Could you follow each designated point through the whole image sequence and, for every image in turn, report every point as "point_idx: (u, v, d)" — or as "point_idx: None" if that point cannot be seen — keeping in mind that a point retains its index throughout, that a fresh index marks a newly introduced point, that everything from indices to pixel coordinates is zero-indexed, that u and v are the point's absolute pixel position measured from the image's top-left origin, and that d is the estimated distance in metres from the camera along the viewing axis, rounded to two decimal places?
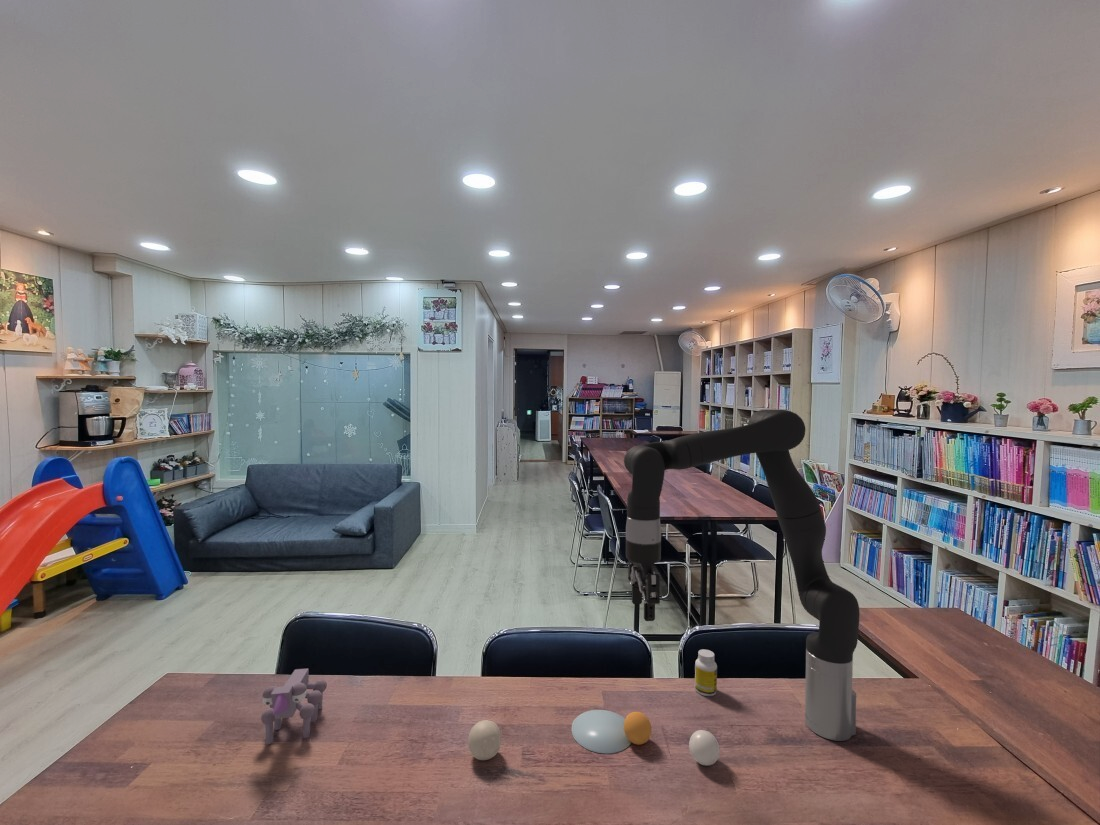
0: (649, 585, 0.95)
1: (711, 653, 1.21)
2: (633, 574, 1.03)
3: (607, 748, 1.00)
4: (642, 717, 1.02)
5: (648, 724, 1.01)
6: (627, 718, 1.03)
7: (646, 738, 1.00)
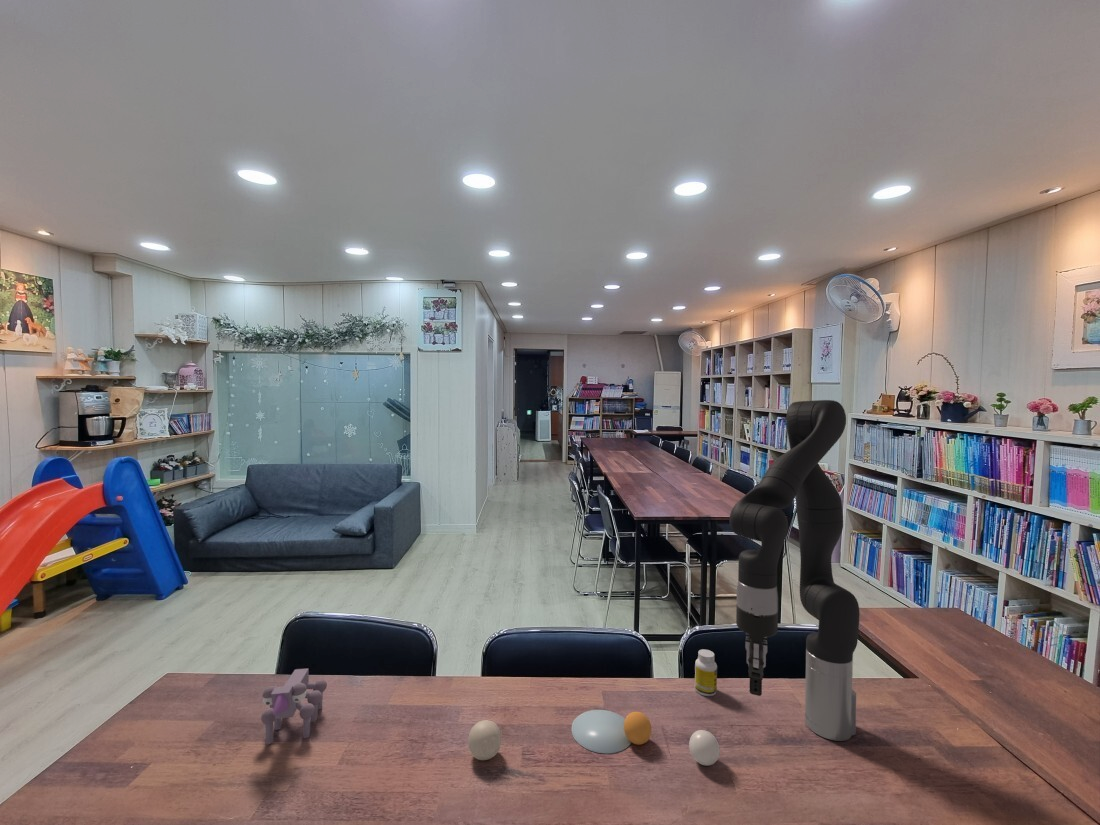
0: None
1: (711, 653, 1.21)
2: None
3: (607, 748, 1.00)
4: (642, 717, 1.02)
5: (648, 724, 1.01)
6: (627, 718, 1.03)
7: (646, 738, 1.00)
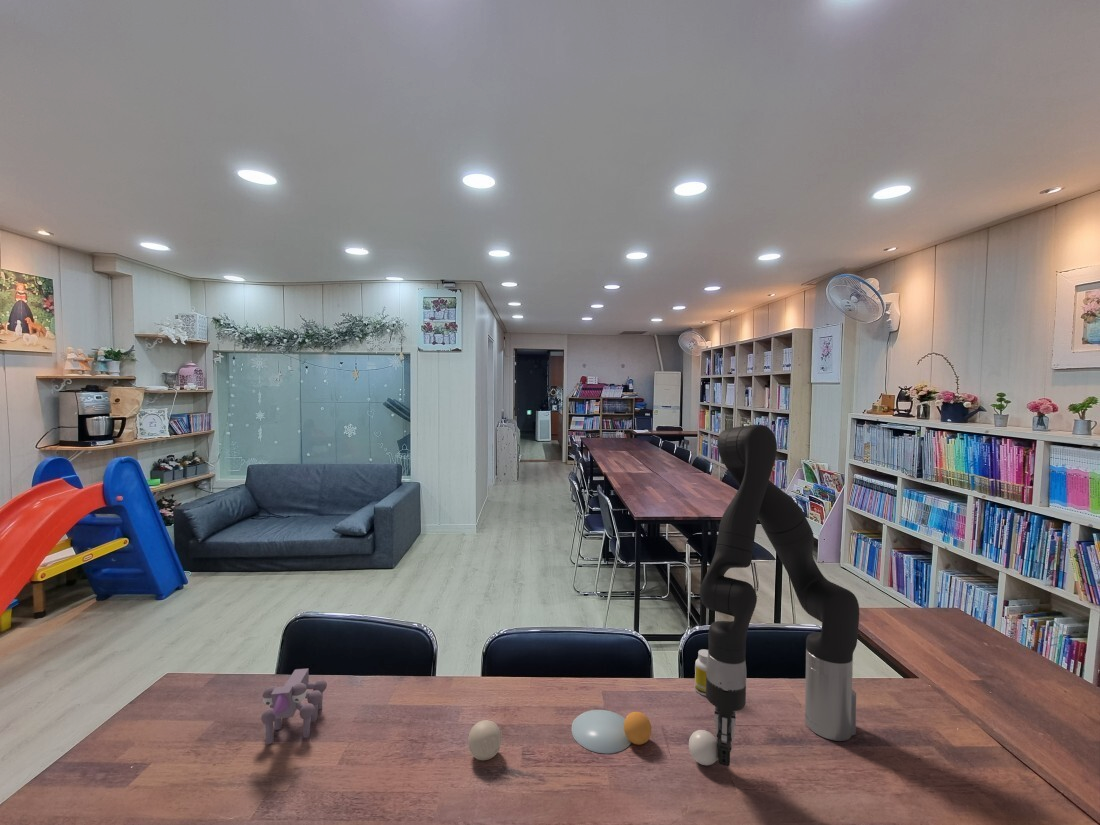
0: None
1: None
2: None
3: (607, 748, 1.00)
4: (642, 717, 1.02)
5: (648, 724, 1.01)
6: (627, 718, 1.03)
7: (646, 738, 1.00)
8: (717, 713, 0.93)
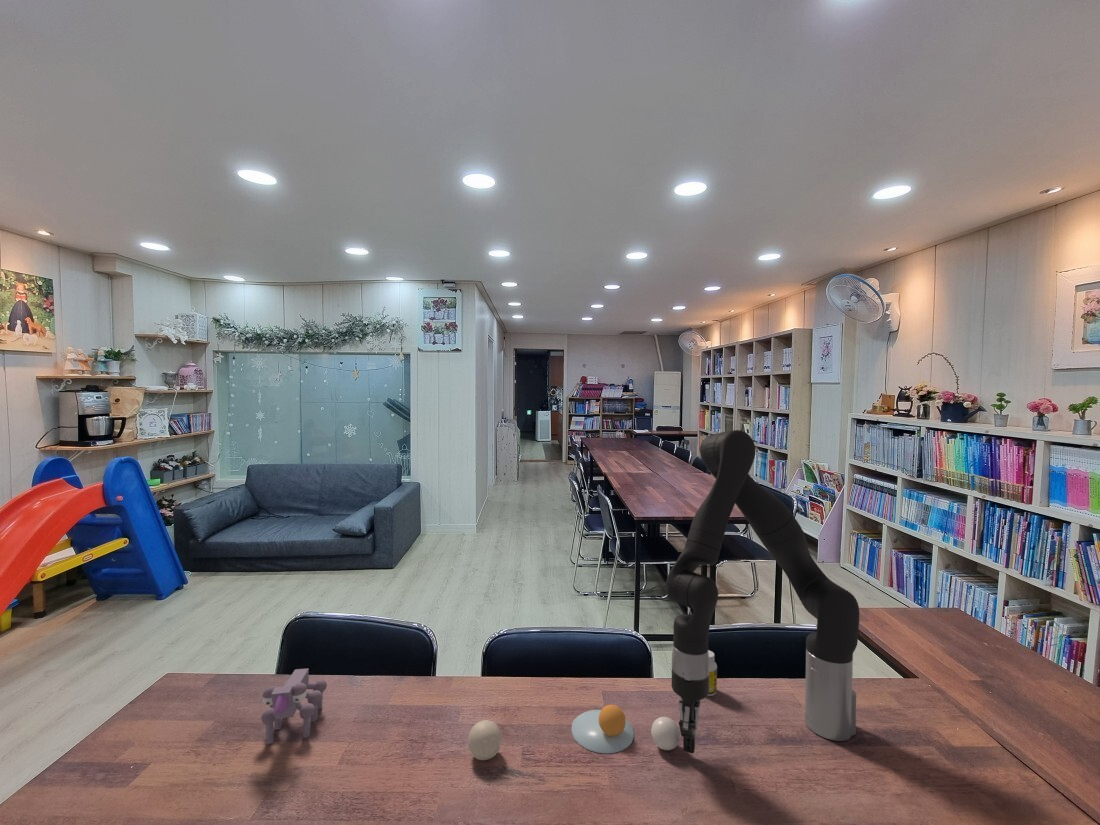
0: None
1: (711, 653, 1.21)
2: None
3: (607, 748, 1.00)
4: None
5: (601, 710, 1.06)
6: None
7: (608, 713, 1.04)
8: (681, 702, 0.97)
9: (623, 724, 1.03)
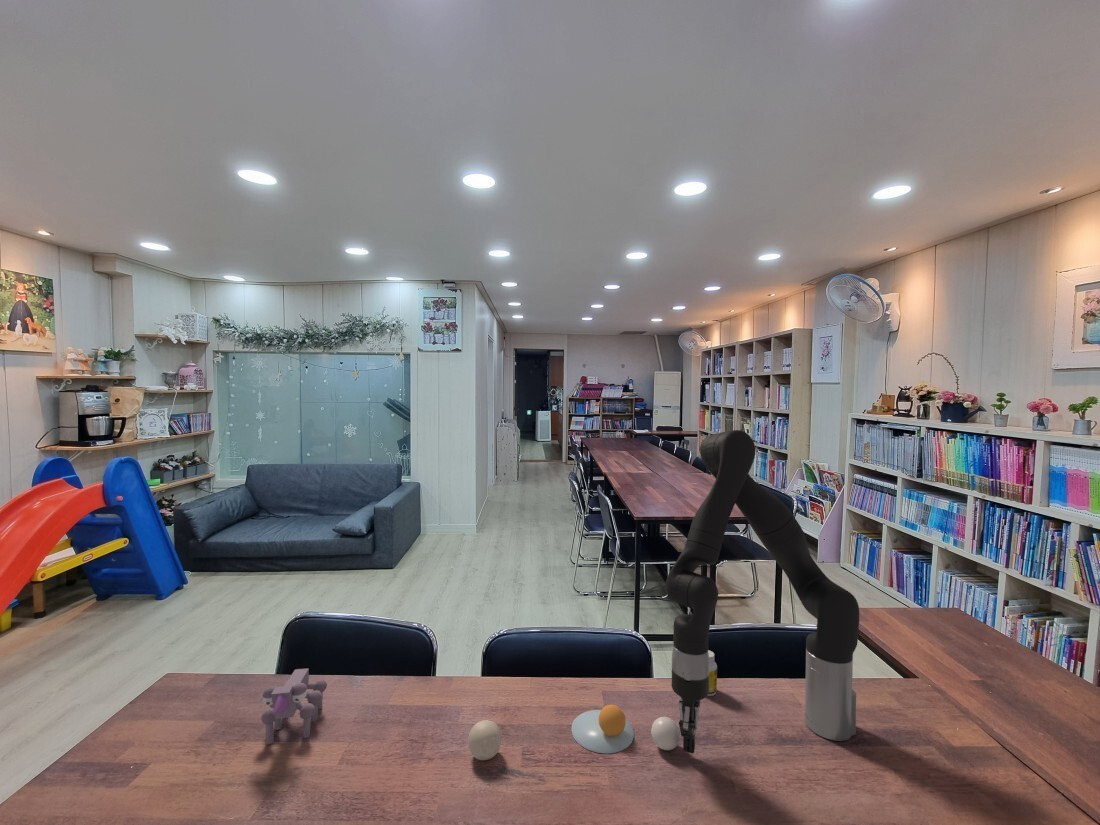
0: None
1: (711, 653, 1.21)
2: None
3: (607, 748, 1.00)
4: None
5: (601, 710, 1.06)
6: None
7: (608, 713, 1.04)
8: (681, 702, 0.97)
9: (623, 724, 1.03)
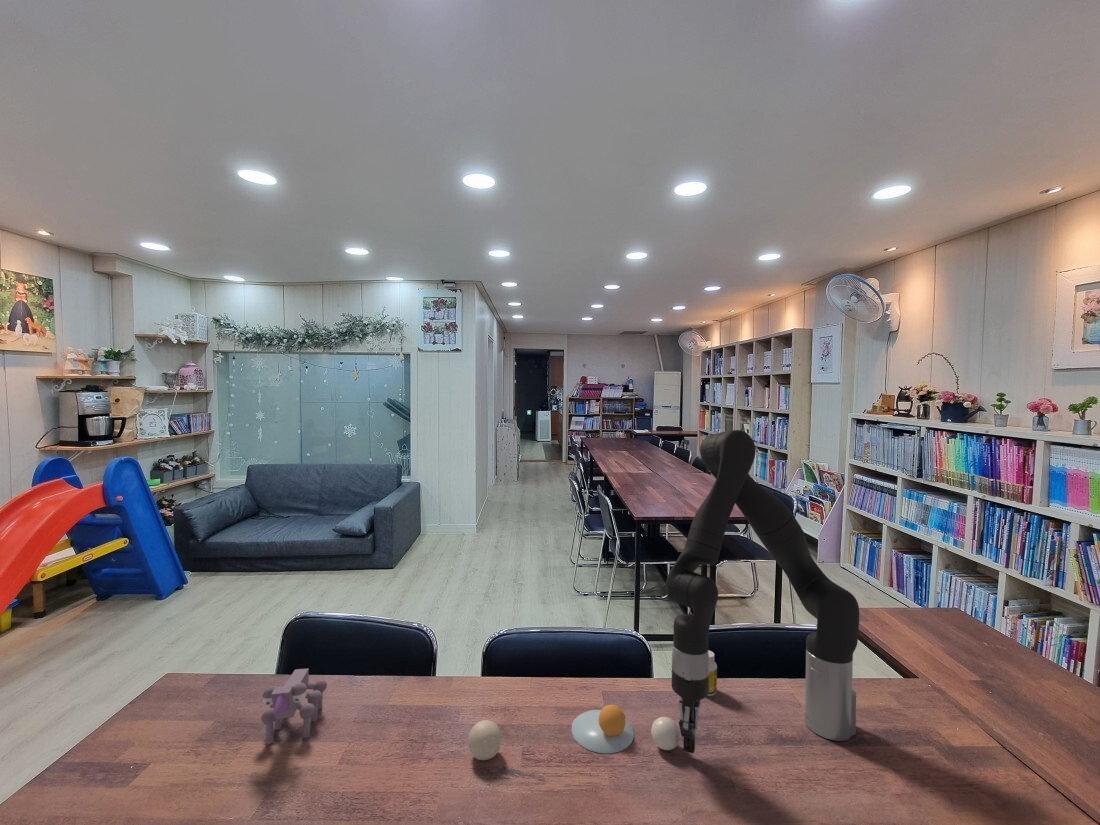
0: None
1: (711, 653, 1.21)
2: None
3: (607, 748, 1.00)
4: None
5: (601, 710, 1.06)
6: None
7: (608, 713, 1.04)
8: (681, 702, 0.97)
9: (623, 724, 1.03)
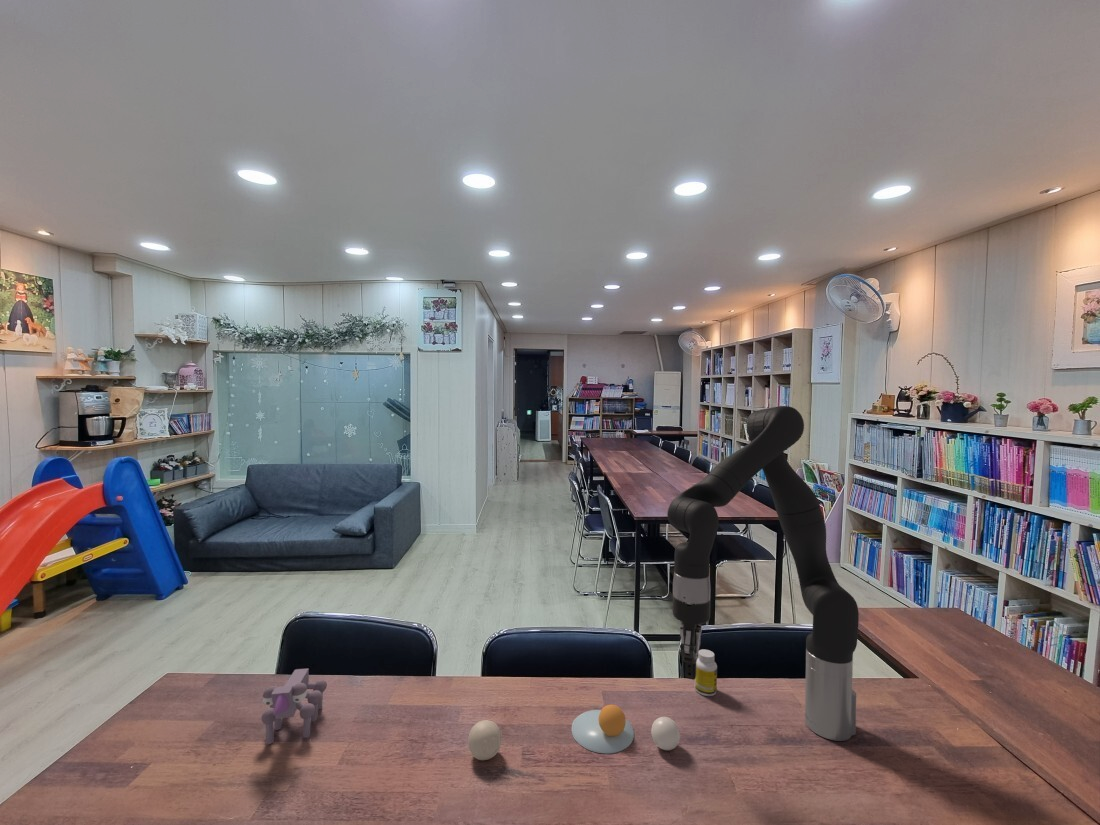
0: None
1: (711, 653, 1.21)
2: None
3: (607, 748, 1.00)
4: None
5: (601, 710, 1.06)
6: None
7: (608, 713, 1.04)
8: (682, 628, 0.97)
9: (623, 724, 1.03)
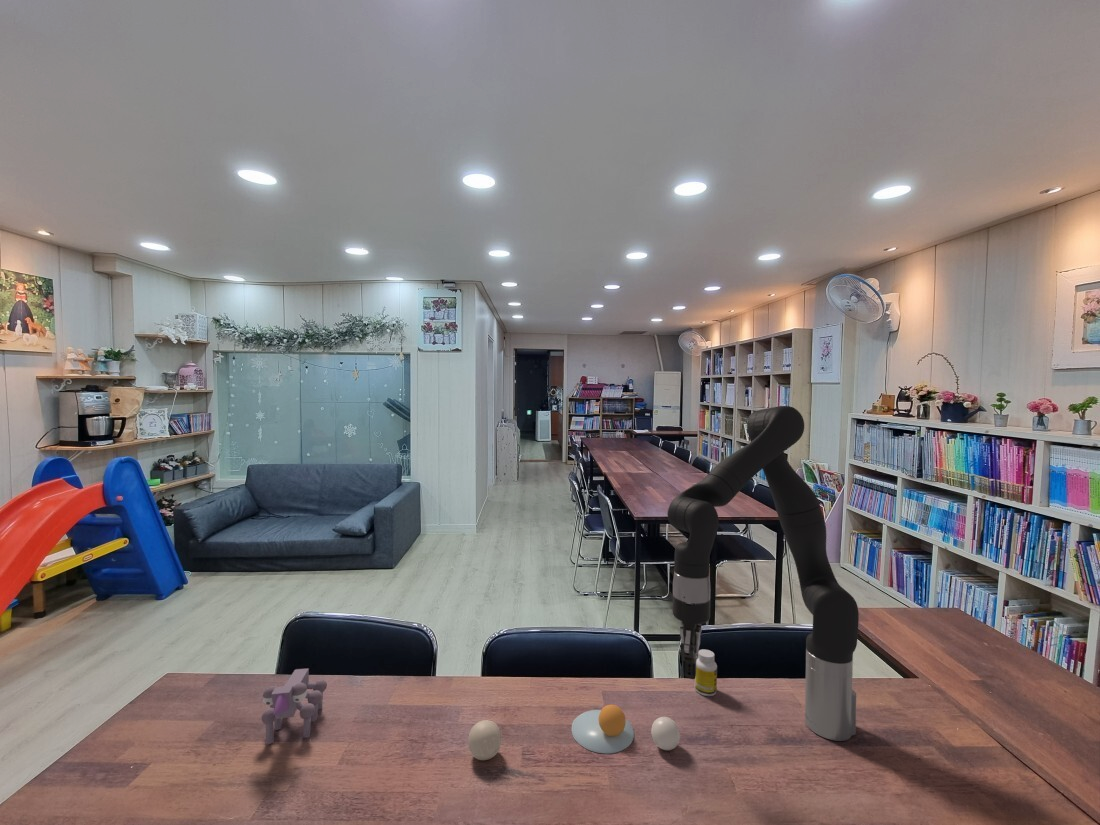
0: None
1: (711, 653, 1.21)
2: None
3: (607, 748, 1.00)
4: None
5: (601, 710, 1.06)
6: None
7: (608, 713, 1.04)
8: (682, 628, 0.97)
9: (623, 724, 1.03)
